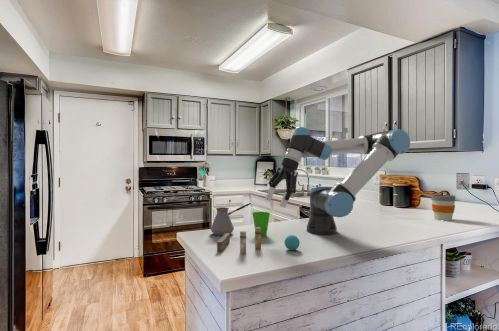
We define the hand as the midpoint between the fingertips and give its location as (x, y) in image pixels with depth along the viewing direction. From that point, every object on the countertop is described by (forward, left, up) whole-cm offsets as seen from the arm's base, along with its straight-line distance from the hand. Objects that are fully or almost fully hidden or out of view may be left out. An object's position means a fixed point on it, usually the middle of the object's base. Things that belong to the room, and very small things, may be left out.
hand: (274, 203), depth 127 cm
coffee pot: (+22, -12, -17) cm, 31 cm away
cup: (+7, -10, -17) cm, 21 cm away
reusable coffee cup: (-101, -65, -17) cm, 121 cm away
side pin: (+11, +18, -17) cm, 27 cm away
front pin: (+6, +11, -17) cm, 21 cm away
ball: (-8, +11, -14) cm, 20 cm away
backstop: (+21, +11, -17) cm, 29 cm away
